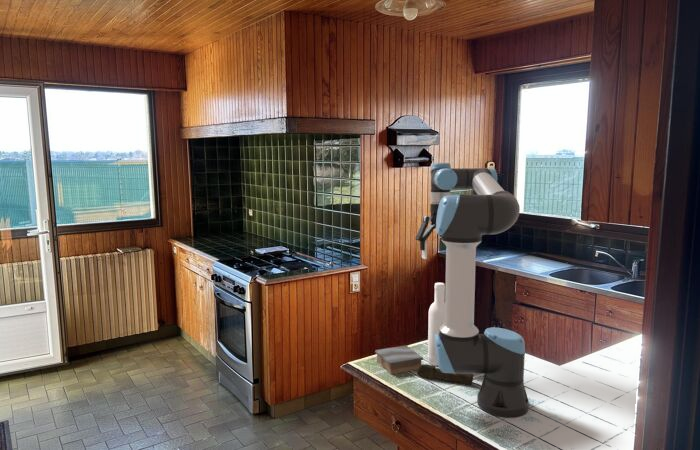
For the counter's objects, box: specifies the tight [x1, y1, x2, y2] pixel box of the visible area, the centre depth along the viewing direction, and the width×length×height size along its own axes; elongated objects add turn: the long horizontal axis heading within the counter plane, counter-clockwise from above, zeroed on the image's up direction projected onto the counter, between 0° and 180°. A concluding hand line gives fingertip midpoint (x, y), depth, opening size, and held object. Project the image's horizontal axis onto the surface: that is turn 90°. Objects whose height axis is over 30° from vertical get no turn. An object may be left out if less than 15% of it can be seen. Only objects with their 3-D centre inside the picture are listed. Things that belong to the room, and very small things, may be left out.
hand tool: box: [416, 363, 474, 387], centre depth 173 cm, size 19×4×5 cm, turn 66°
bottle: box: [427, 282, 446, 367], centre depth 186 cm, size 8×8×30 cm
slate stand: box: [374, 345, 424, 375], centre depth 185 cm, size 13×13×4 cm
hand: (439, 257), depth 198 cm, fingers open, 13 cm apart
